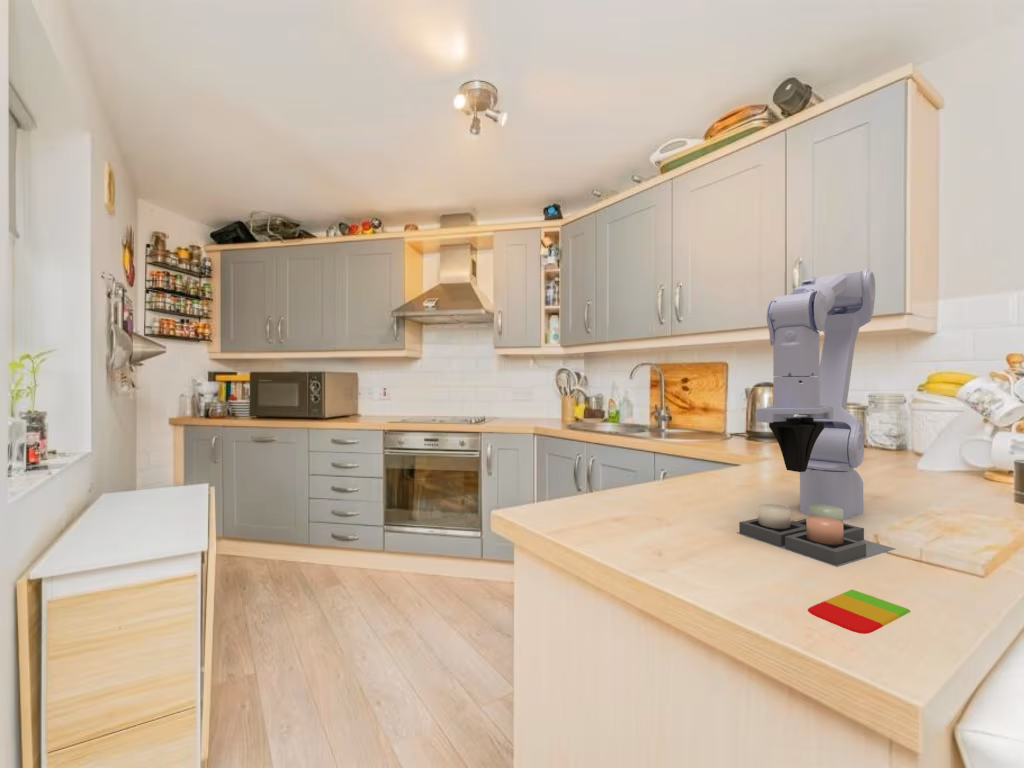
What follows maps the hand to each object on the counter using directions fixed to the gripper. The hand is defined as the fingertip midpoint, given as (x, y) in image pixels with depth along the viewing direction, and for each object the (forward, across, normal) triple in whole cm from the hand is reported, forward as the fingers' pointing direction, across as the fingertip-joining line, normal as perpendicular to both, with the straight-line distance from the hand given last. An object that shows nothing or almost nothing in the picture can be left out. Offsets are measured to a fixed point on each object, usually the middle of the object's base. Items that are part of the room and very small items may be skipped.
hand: (796, 470), depth 68 cm
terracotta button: (+8, +3, +6) cm, 10 cm away
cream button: (+8, +3, -1) cm, 8 cm away
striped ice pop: (+11, +13, +16) cm, 24 cm away
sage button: (+8, -3, +2) cm, 8 cm away
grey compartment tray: (+10, 0, +2) cm, 11 cm away
